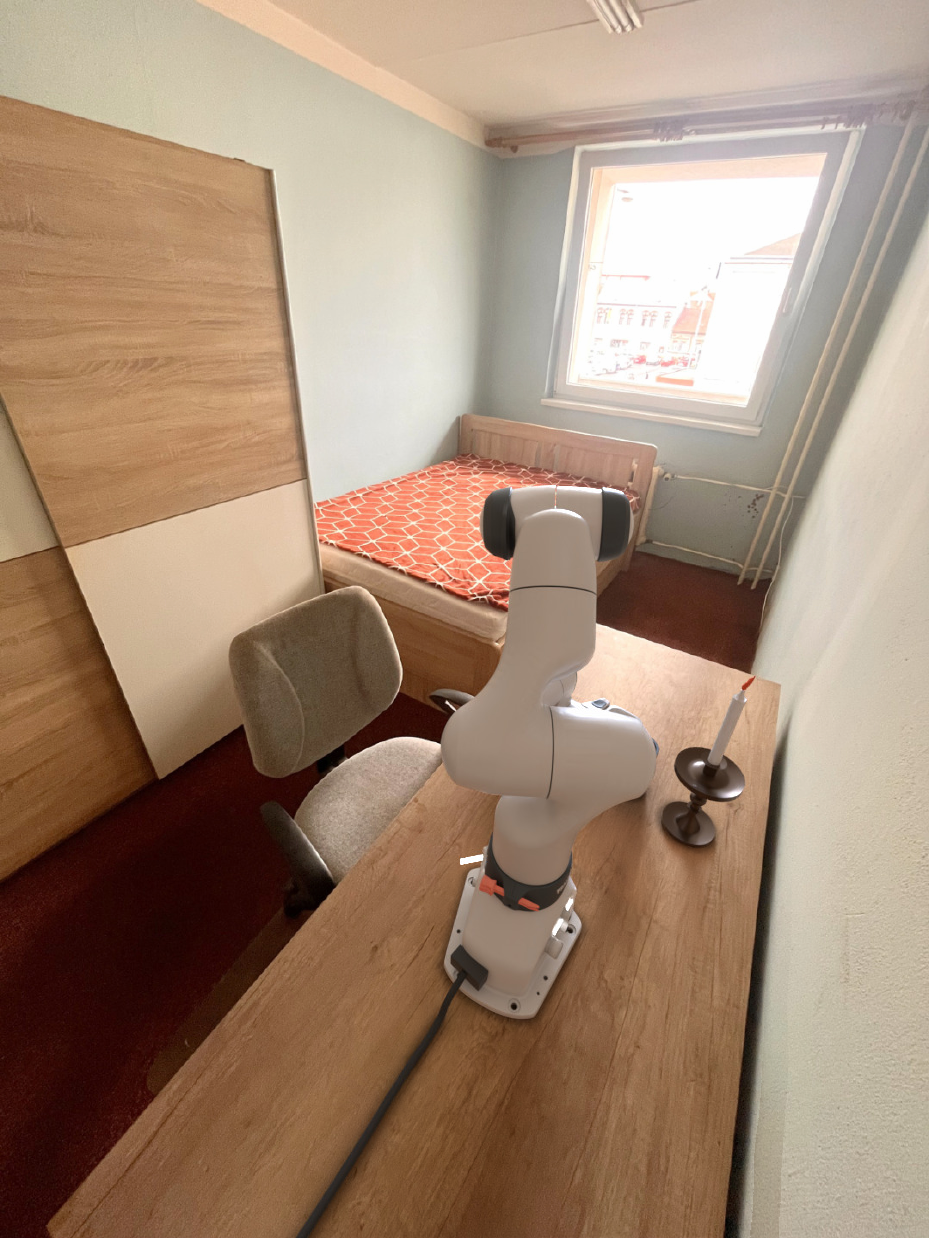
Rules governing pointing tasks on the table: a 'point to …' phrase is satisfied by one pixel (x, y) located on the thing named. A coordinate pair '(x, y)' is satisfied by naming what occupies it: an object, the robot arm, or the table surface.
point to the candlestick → (705, 782)
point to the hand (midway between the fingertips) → (639, 766)
